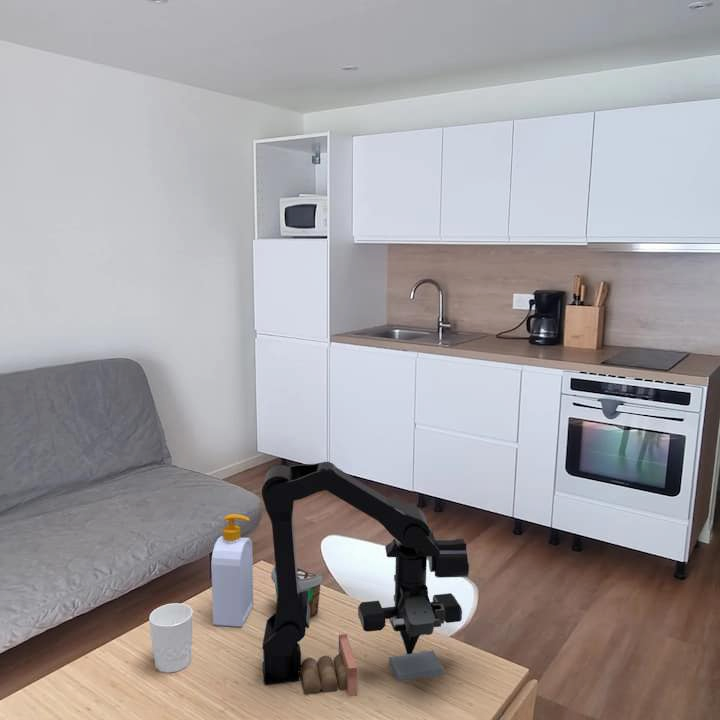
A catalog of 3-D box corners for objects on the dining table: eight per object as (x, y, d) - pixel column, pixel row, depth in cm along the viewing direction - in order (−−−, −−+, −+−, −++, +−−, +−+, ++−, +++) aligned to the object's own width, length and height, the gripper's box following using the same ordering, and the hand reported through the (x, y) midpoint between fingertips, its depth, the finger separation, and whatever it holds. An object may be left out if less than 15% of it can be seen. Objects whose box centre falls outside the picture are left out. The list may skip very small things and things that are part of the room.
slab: (398, 685, 120) (398, 675, 119) (389, 666, 125) (389, 657, 125) (443, 677, 122) (444, 667, 122) (432, 659, 127) (433, 650, 127)
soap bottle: (244, 628, 136) (242, 525, 132) (212, 626, 137) (209, 523, 133) (256, 605, 145) (255, 508, 141) (226, 603, 146) (224, 506, 142)
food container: (260, 614, 141) (259, 571, 140) (276, 601, 147) (276, 559, 145) (308, 630, 136) (308, 585, 134) (323, 615, 141) (323, 572, 140)
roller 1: (302, 694, 116) (306, 679, 116) (299, 671, 122) (303, 656, 122) (318, 695, 117) (322, 680, 116) (314, 673, 123) (318, 658, 123)
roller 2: (326, 675, 116) (340, 681, 117) (322, 653, 123) (335, 659, 123) (318, 689, 116) (332, 695, 117) (314, 666, 123) (327, 672, 123)
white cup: (143, 662, 125) (141, 614, 123) (180, 644, 130) (178, 598, 129) (165, 681, 119) (163, 631, 118) (202, 661, 125) (200, 613, 123)
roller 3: (342, 673, 117) (357, 676, 118) (336, 652, 123) (350, 655, 124) (336, 688, 117) (352, 691, 118) (331, 666, 123) (345, 669, 124)
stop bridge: (348, 696, 116) (348, 668, 115) (338, 660, 126) (338, 634, 125) (356, 695, 116) (357, 667, 115) (346, 659, 126) (346, 633, 125)
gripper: (370, 604, 110) (369, 687, 113) (474, 593, 114) (471, 674, 117) (357, 572, 121) (357, 648, 124) (453, 563, 125) (450, 638, 128)
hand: (408, 652), depth 123 cm, fingers closed
